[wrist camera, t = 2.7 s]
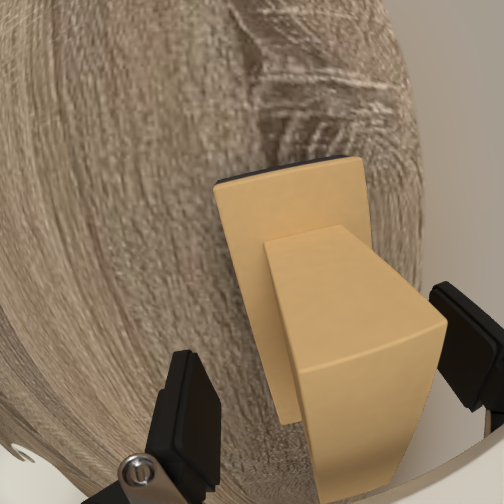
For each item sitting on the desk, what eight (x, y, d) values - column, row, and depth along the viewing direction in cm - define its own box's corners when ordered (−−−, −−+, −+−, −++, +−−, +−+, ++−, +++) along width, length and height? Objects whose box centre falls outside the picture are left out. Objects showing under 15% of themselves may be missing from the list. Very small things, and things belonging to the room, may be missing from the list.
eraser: (341, 154, 10) (503, 186, 3) (358, 377, 14) (405, 486, 7) (216, 180, 10) (168, 263, 3) (276, 398, 14) (295, 519, 7)
